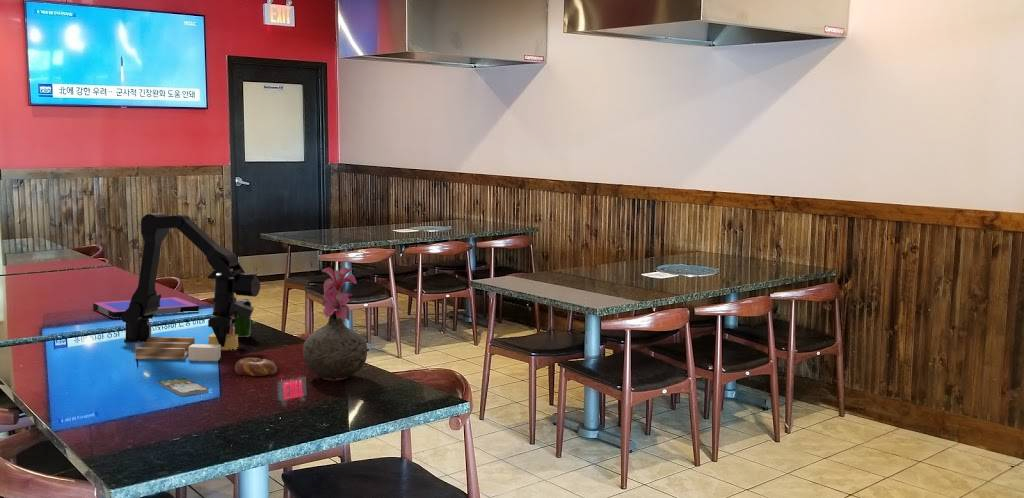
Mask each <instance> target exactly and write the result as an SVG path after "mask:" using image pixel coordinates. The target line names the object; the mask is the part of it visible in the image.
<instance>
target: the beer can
mask: <svg viewBox="0 0 1024 498" xmlns="http://www.w3.org/2000/svg"><path fill="white" fill-rule="evenodd" d="M246 300H247V301H250V302H251V299H250V298H236V302H239V303H244V302H245V301H246ZM251 303H252V302H251ZM232 319H236V321H235V322H234V323H233V325H232V326H233V327H232V334H238V337H247V338H249V337H250V336H251V332H252V331H251V330H252V329H251V327H252V323H251V322H252V316H251V317H250V318H249V320H248V319H244V318H243V317H241V316H238V317H237V318H236V317H235V316H232Z"/></svg>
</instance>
